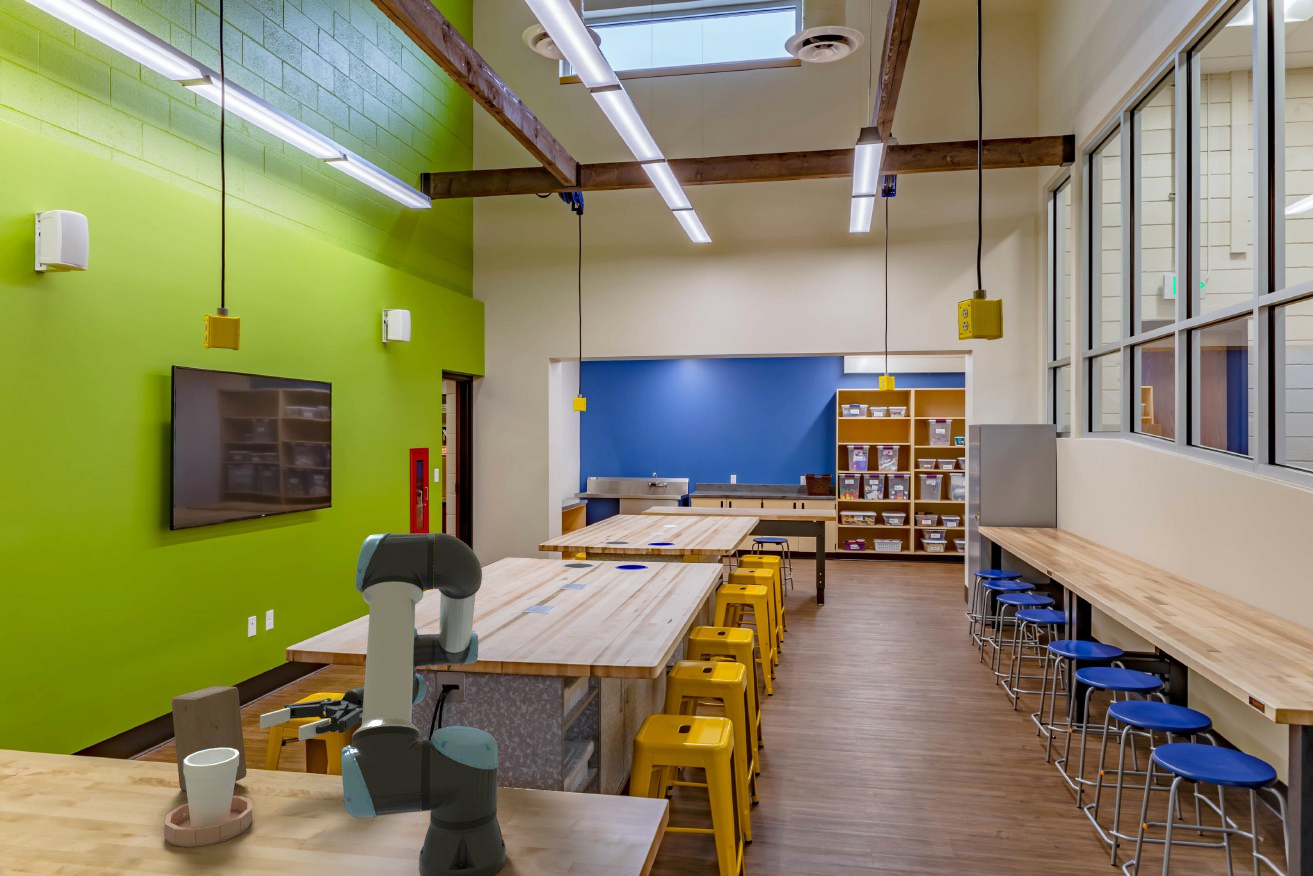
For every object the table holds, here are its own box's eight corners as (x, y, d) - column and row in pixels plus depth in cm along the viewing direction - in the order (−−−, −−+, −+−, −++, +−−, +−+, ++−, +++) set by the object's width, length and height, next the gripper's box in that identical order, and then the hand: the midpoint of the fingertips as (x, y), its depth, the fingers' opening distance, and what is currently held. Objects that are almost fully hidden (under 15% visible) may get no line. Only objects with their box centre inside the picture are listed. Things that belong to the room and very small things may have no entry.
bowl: (267, 824, 156) (267, 807, 156) (189, 855, 144) (190, 837, 144) (226, 805, 164) (226, 789, 164) (149, 833, 152) (150, 816, 152)
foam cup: (171, 828, 152) (173, 759, 152) (217, 809, 160) (219, 744, 160) (201, 840, 148) (203, 769, 148) (247, 820, 156) (249, 753, 156)
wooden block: (202, 795, 165) (193, 698, 167) (177, 791, 170) (169, 697, 172) (249, 777, 174) (239, 685, 175) (223, 774, 179) (215, 685, 180)
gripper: (401, 729, 176) (316, 758, 158) (331, 710, 189) (244, 735, 171) (402, 695, 176) (317, 720, 158) (331, 678, 190) (246, 700, 172)
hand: (279, 727), depth 165 cm, fingers open, 13 cm apart
